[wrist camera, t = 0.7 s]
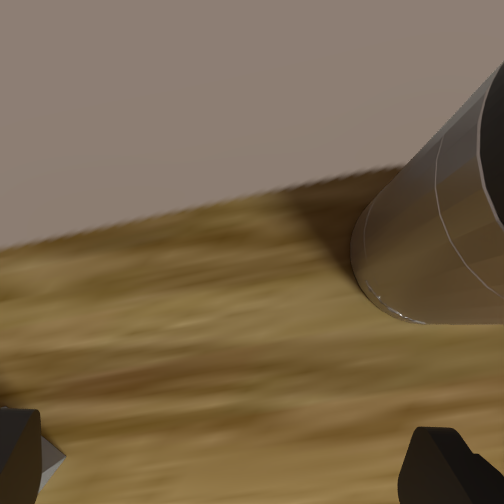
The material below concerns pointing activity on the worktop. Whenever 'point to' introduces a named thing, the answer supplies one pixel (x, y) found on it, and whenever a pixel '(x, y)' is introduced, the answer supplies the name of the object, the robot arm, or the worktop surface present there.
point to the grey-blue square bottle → (49, 460)
